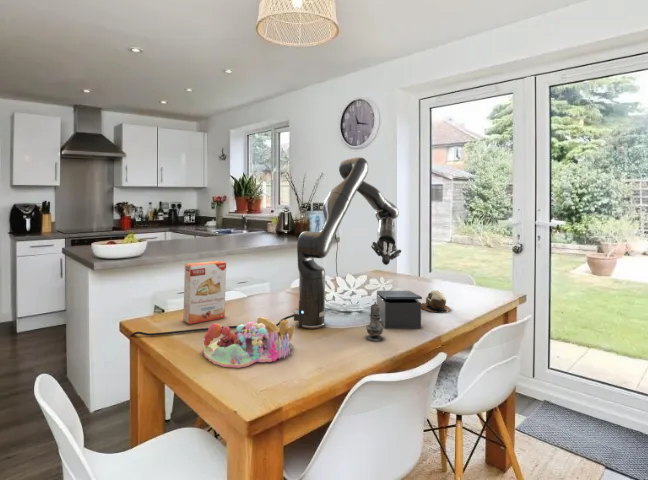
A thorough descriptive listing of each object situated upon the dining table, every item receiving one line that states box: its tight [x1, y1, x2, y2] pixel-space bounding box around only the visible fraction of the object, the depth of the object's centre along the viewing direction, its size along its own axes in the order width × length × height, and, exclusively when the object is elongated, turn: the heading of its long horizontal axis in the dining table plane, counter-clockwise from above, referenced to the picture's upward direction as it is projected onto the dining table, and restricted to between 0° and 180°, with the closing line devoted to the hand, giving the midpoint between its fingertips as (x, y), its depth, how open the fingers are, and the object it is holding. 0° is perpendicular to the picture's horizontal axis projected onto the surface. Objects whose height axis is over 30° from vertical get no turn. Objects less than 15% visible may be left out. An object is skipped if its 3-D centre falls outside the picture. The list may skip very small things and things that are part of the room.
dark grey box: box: [376, 292, 422, 329], centre depth 152 cm, size 15×13×9 cm
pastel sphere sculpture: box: [203, 316, 296, 369], centre depth 122 cm, size 25×24×9 cm
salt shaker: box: [365, 301, 385, 342], centre depth 134 cm, size 6×6×12 cm
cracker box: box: [182, 260, 227, 325], centre depth 151 cm, size 14×6×21 cm, turn 129°
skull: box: [421, 289, 451, 314], centre depth 170 cm, size 12×10×10 cm
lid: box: [376, 290, 423, 300], centre depth 151 cm, size 16×13×1 cm
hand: (386, 263), depth 162 cm, fingers closed
